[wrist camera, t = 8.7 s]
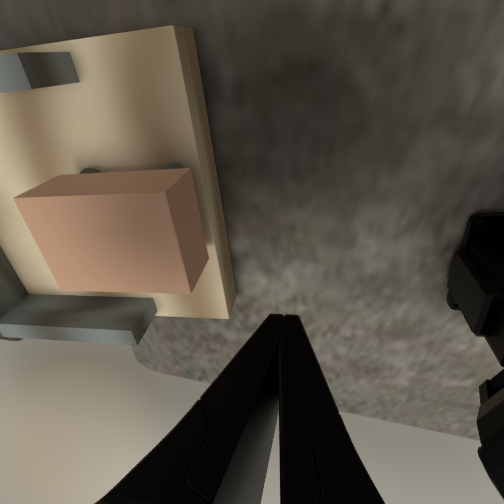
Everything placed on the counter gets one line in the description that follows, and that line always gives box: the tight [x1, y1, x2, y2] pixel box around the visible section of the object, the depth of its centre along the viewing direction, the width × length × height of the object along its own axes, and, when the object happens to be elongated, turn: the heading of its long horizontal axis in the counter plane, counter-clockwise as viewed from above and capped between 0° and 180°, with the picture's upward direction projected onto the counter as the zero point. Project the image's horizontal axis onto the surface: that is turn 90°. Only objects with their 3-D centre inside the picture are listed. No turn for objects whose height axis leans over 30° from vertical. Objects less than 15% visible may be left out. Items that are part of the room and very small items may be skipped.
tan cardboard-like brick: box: [13, 163, 209, 294], centre depth 16 cm, size 7×5×4 cm
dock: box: [0, 25, 237, 345], centre depth 19 cm, size 16×16×6 cm
